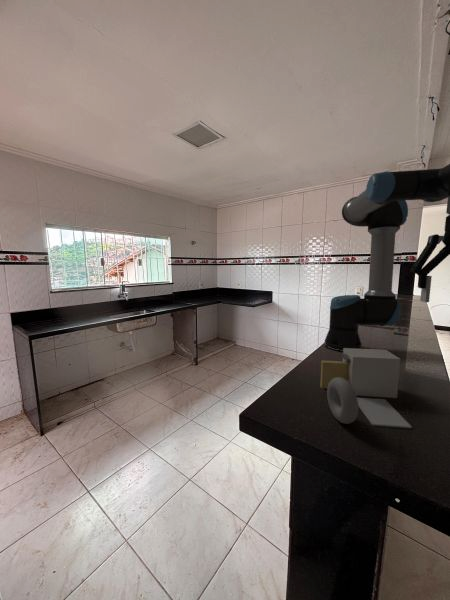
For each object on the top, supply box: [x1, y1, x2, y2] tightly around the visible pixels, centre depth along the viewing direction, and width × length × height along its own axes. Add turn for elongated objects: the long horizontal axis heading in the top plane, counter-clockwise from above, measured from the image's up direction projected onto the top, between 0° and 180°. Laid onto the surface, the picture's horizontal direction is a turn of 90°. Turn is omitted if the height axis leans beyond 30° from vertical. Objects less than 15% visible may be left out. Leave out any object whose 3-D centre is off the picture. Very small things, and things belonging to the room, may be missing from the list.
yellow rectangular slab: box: [319, 360, 349, 390], centre depth 74 cm, size 2×11×8 cm, turn 82°
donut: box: [326, 377, 359, 425], centre depth 58 cm, size 10×3×10 cm, turn 4°
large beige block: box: [341, 348, 401, 399], centre depth 73 cm, size 8×13×11 cm, turn 82°
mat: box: [357, 397, 413, 429], centre depth 62 cm, size 12×8×1 cm, turn 172°
